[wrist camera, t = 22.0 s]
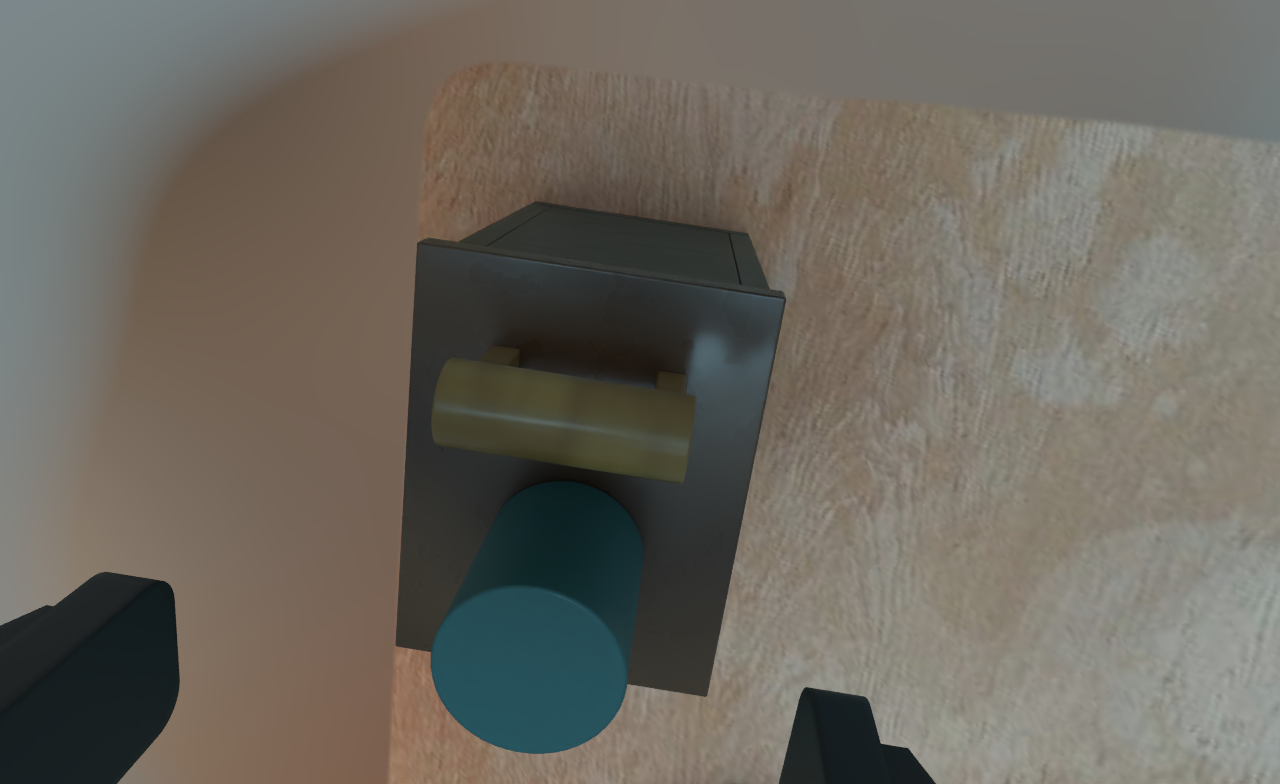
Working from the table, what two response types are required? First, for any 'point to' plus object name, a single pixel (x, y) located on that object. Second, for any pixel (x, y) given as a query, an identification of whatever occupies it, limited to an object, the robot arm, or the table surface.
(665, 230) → the chest
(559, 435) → the lid
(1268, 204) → the table surface
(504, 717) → the teal cylinder
